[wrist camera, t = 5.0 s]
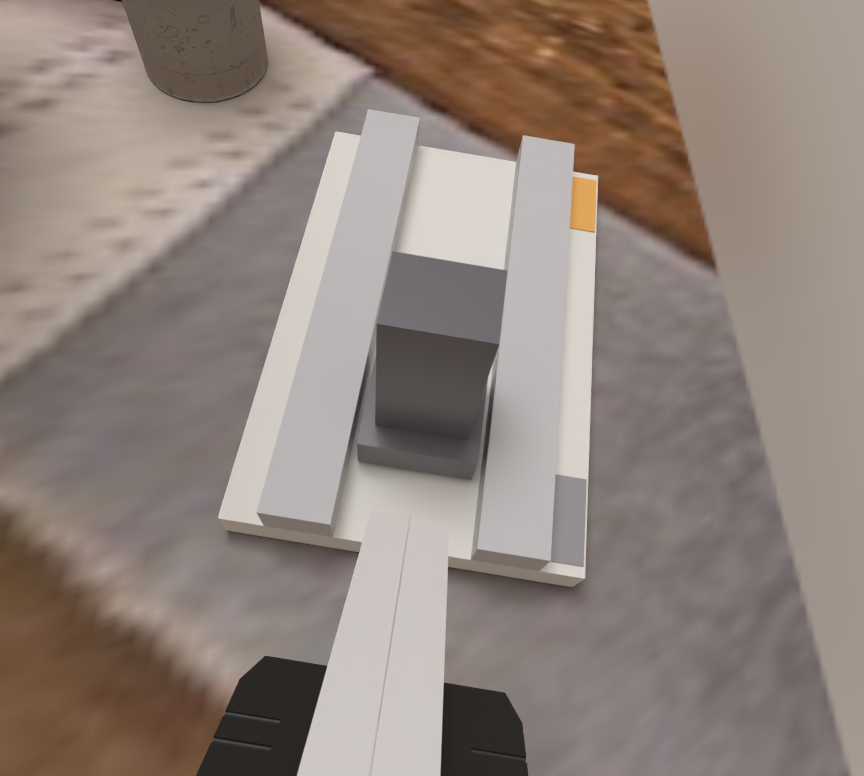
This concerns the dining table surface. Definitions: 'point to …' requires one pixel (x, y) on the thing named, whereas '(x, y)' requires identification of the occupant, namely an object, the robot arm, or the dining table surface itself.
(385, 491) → the switch board
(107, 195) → the dining table surface
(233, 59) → the thermos bottle
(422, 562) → the robot arm
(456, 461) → the switch lever
